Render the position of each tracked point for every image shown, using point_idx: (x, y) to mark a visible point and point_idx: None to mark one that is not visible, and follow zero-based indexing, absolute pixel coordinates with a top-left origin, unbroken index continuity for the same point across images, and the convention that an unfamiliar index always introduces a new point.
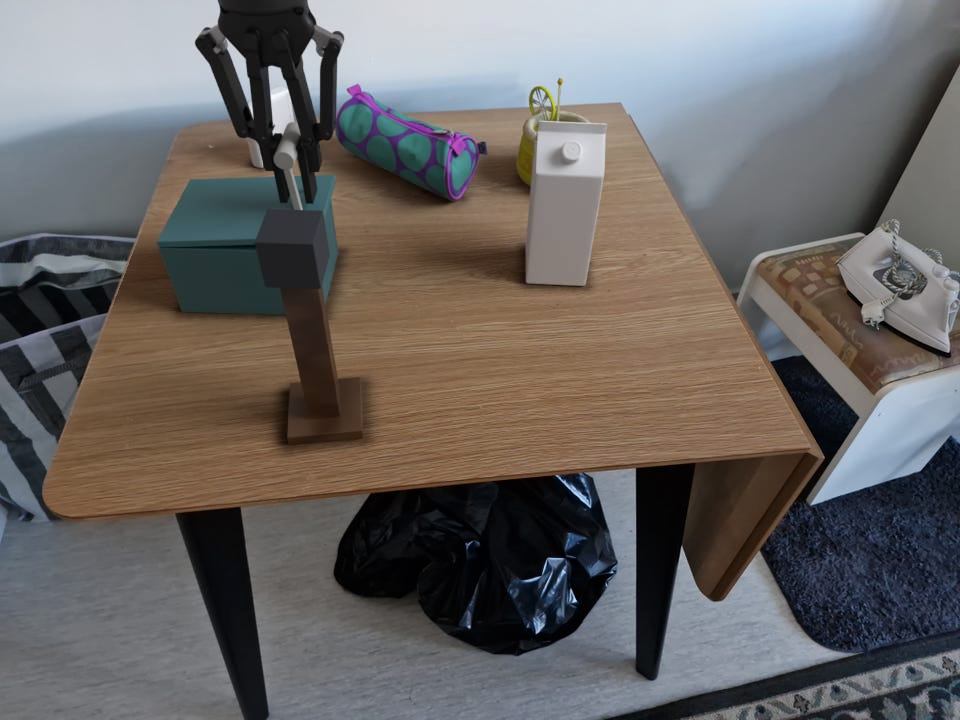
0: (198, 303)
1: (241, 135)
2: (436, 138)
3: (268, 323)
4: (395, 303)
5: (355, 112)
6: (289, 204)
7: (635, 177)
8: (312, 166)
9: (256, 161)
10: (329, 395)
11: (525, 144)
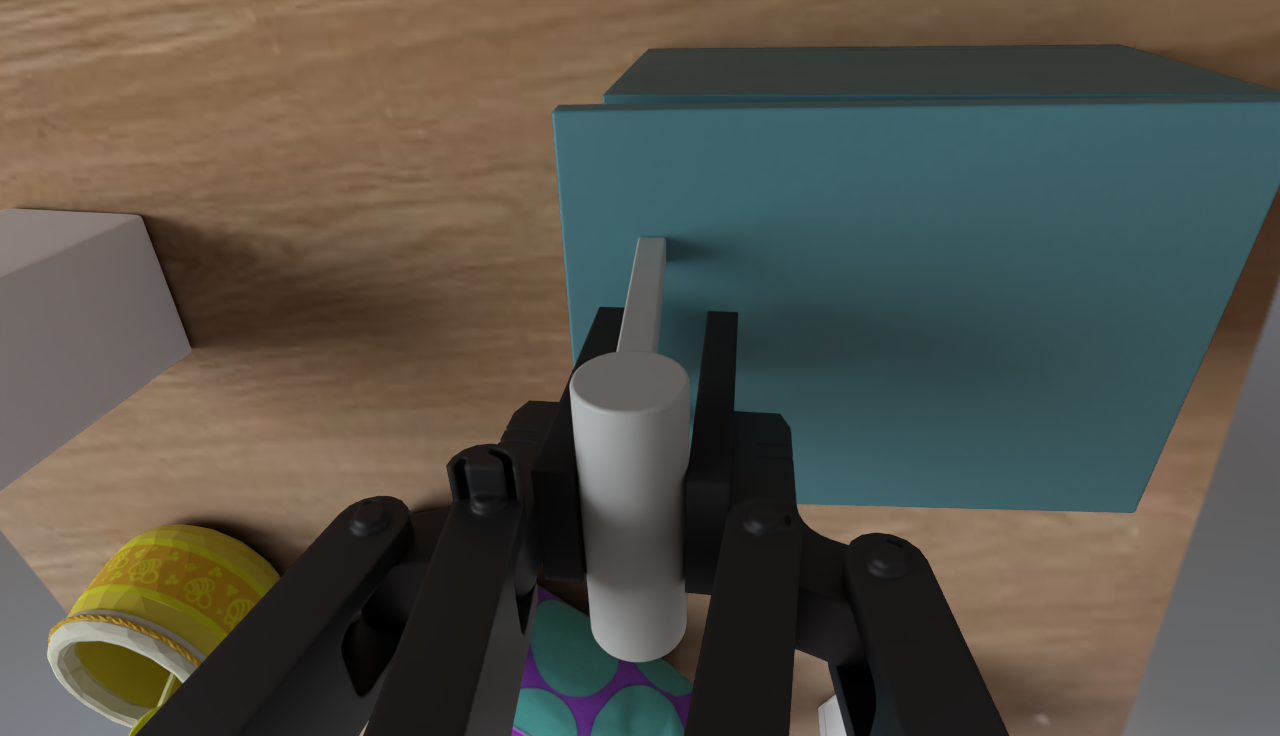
0: (1064, 50)
1: (891, 545)
2: None
3: (816, 3)
4: (450, 122)
5: None
6: None
7: (65, 567)
8: (547, 420)
9: None
10: None
11: (216, 644)
